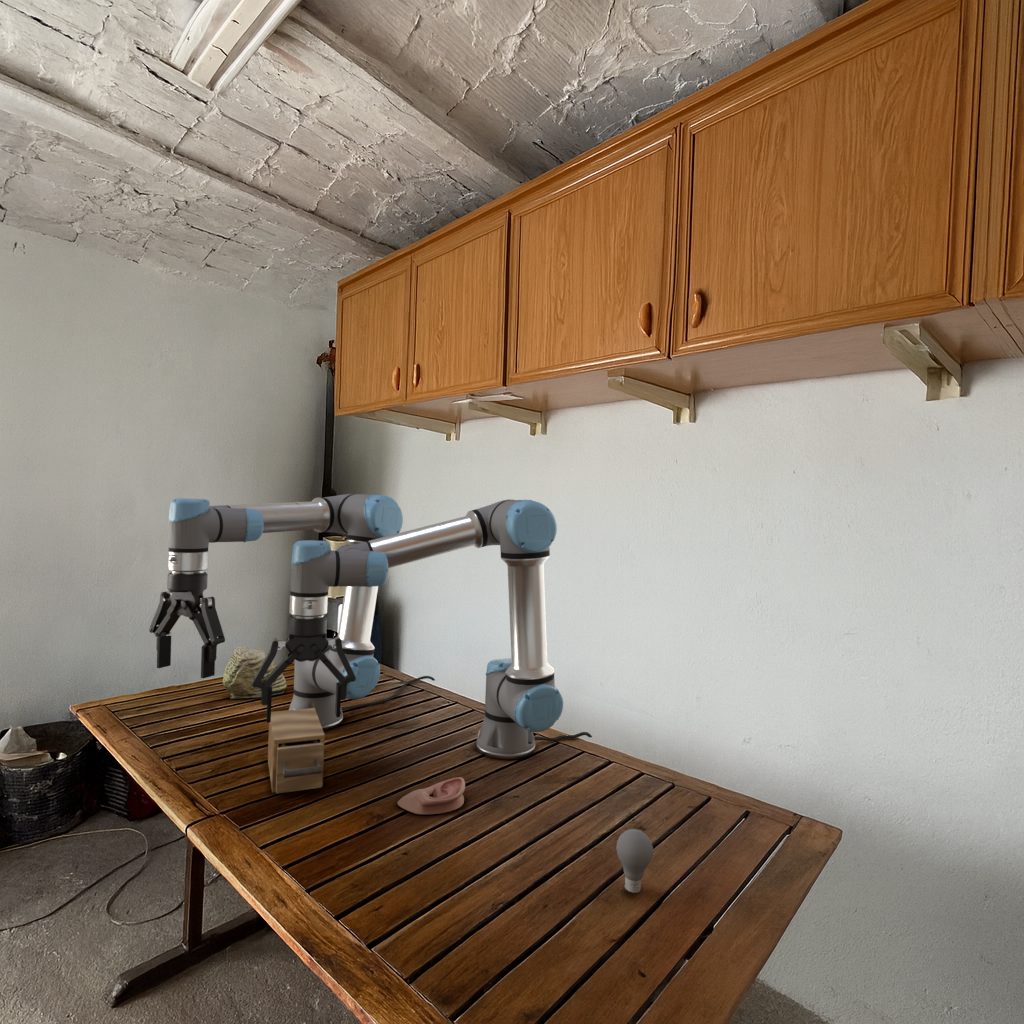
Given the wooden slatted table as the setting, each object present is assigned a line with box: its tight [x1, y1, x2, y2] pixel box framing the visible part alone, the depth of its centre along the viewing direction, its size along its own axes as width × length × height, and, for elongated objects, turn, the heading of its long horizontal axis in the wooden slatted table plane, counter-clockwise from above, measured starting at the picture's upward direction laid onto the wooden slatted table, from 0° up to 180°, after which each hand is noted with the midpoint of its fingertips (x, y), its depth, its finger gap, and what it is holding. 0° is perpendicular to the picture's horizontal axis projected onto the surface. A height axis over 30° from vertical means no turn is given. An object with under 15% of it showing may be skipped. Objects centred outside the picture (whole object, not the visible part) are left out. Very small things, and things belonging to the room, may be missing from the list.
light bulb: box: [615, 828, 654, 894], centre depth 106 cm, size 6×6×10 cm
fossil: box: [222, 646, 288, 699], centre depth 198 cm, size 9×18×15 cm, turn 132°
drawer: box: [275, 740, 324, 794], centre depth 139 cm, size 23×9×9 cm, turn 24°
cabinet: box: [267, 708, 326, 794], centre depth 145 cm, size 18×10×11 cm, turn 24°
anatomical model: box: [397, 776, 466, 816], centre depth 133 cm, size 13×4×12 cm
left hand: (185, 671), depth 134 cm, fingers open, 13 cm apart
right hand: (303, 717), depth 131 cm, fingers open, 13 cm apart
